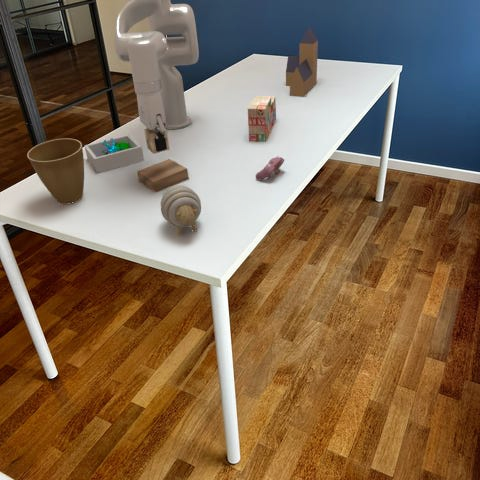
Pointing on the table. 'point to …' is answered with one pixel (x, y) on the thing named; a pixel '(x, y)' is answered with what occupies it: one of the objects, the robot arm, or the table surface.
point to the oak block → (151, 141)
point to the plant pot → (60, 168)
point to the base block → (162, 175)
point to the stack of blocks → (261, 117)
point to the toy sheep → (180, 207)
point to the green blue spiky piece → (115, 147)
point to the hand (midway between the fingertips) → (158, 146)
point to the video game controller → (270, 168)
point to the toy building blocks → (303, 66)
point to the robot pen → (113, 154)
